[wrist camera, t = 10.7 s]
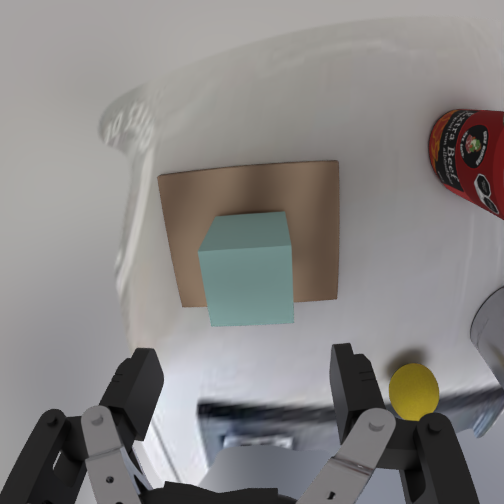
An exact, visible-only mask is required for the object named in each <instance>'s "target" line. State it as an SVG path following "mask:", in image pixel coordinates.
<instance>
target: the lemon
mask: <svg viewBox="0 0 504 504" xmlns="http://www.w3.org/2000/svg"><path fill="white" fill-rule="evenodd" d="M389 398H390V401H391V404H392V406H393V407H394V409H395V411H396V412H397V413H398V415H399V416H401V417H402V418H403V419H405V420H412V421H419V420H420V418H421V417H422V416H424V415H426V414H428V413H432V412H433V411H434V410H435V408H436V407H437V404H438V401H439V387H438V383H437V380H436V378H435V377H434V375H433V373H432V372H431V371H430V370H429V369H428V368H427V367H425V366H424V365H421V364H417V363H411V364H407V365H404V366H402V367H401V368H399V369H398V370H397V371H396V372H395V373H394V375H393V376H392V378H391V381H390V384H389Z"/></svg>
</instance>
